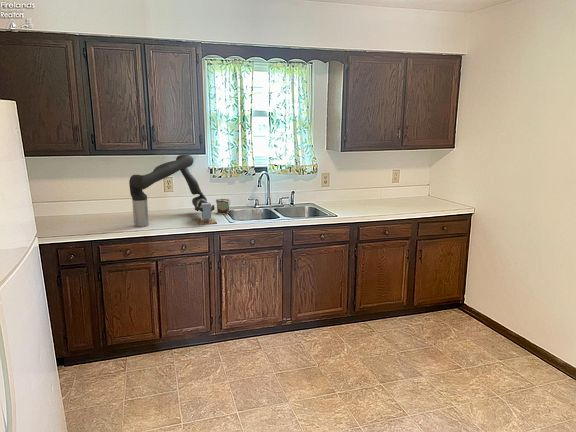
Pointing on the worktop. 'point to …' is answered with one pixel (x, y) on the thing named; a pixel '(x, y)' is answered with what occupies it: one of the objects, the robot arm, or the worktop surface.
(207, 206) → the blue-grey rectangular block
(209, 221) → the post
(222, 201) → the food container
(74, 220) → the worktop surface
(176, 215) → the worktop surface
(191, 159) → the robot arm
